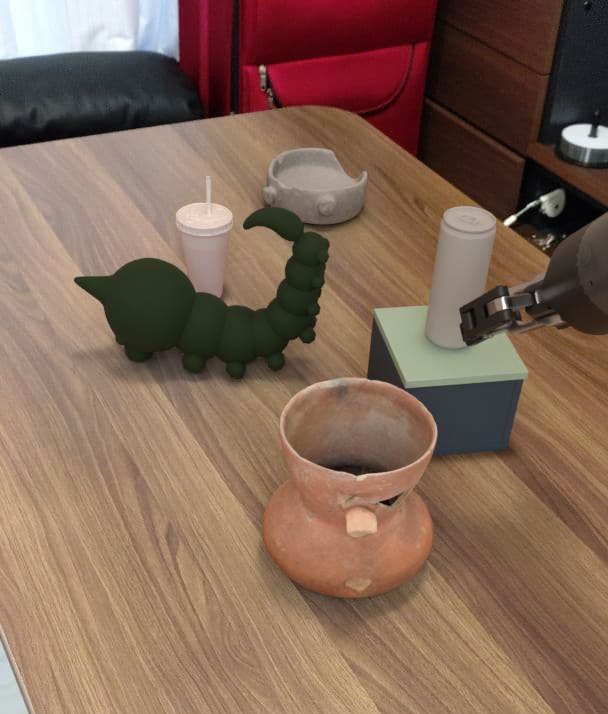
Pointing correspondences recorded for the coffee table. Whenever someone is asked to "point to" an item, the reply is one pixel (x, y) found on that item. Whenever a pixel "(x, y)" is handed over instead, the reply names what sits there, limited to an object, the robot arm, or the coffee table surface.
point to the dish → (314, 186)
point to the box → (456, 405)
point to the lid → (443, 353)
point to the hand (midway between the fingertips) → (512, 325)
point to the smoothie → (205, 242)
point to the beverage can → (458, 271)
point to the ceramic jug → (352, 488)
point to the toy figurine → (215, 305)
